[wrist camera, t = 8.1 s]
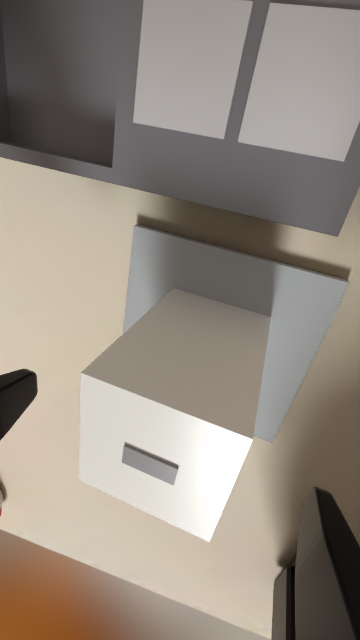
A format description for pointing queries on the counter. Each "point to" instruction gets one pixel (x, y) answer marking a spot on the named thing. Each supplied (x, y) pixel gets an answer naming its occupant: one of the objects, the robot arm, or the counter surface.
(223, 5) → the power strip
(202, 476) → the block
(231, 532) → the counter surface
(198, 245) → the mat
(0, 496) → the beverage can
